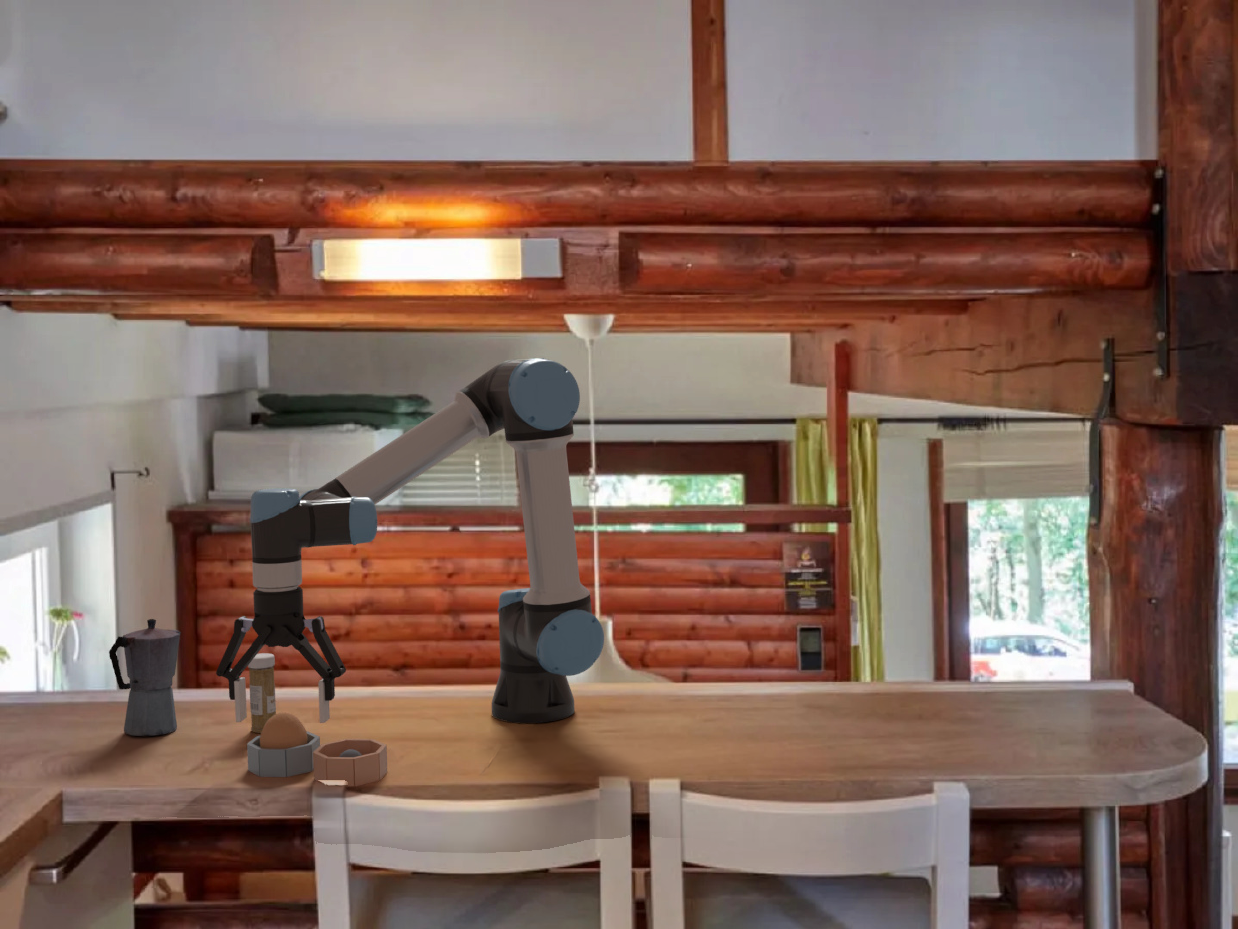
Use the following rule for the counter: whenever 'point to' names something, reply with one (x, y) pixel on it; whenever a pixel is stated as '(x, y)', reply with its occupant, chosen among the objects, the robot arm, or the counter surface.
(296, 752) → the grey octagonal bowl
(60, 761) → the counter surface
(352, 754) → the rubber ball
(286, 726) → the egg
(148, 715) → the moka pot
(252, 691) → the sprinkles bottle
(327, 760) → the brown octagonal bowl
